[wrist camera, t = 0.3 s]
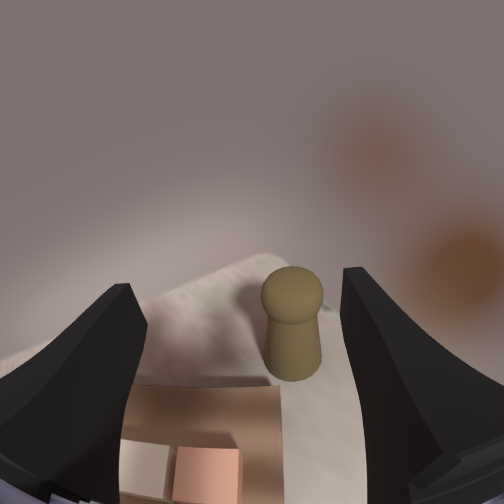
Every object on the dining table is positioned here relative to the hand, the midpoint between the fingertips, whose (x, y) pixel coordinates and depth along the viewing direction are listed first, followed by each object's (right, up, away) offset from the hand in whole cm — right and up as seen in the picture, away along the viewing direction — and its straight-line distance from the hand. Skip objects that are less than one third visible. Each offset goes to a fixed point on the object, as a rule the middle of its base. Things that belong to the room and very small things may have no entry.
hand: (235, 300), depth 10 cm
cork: (+5, -9, +21) cm, 24 cm away
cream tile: (-8, -16, +9) cm, 20 cm away
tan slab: (-4, -18, +10) cm, 21 cm away
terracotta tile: (-2, -16, +8) cm, 18 cm away
